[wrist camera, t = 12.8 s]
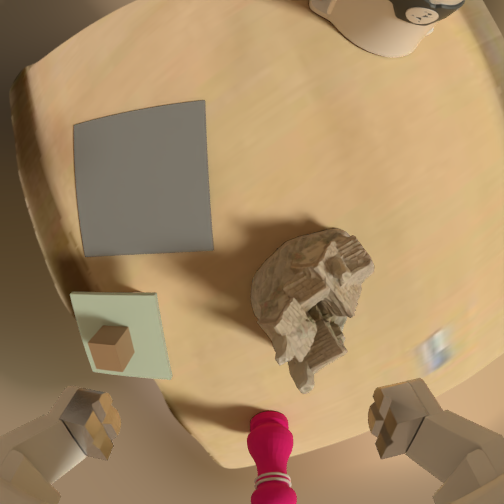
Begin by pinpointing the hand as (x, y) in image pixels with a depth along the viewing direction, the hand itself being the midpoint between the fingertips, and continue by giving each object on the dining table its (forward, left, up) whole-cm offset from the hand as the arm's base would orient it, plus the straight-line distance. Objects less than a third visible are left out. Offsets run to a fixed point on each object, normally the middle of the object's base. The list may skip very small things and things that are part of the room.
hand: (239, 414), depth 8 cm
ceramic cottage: (+9, +8, -29) cm, 31 cm away
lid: (+10, -15, -22) cm, 28 cm away
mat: (-7, -13, -28) cm, 32 cm away
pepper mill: (+32, +2, -29) cm, 43 cm away
